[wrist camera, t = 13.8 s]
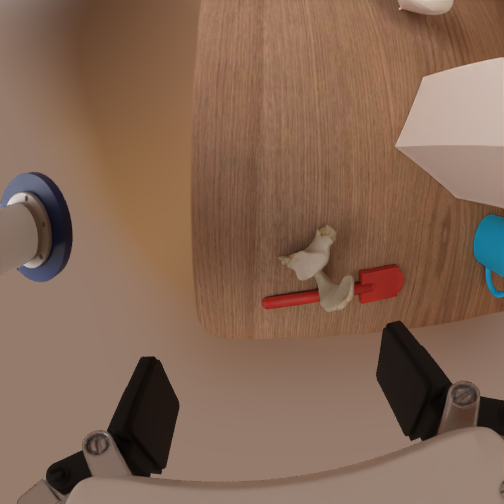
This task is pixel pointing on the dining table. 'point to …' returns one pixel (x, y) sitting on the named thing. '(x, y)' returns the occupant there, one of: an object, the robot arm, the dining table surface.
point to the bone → (312, 265)
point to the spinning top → (426, 6)
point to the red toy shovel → (369, 288)
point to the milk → (460, 130)
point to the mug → (490, 248)
